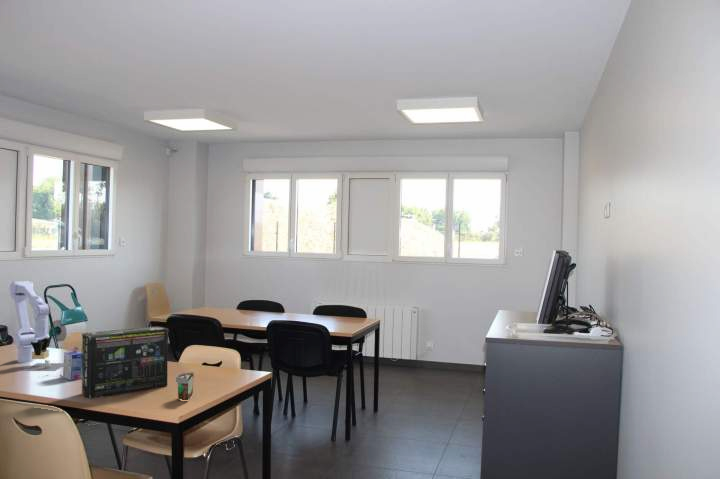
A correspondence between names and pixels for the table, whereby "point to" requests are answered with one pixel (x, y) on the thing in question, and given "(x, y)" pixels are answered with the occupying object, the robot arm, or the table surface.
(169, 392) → the table surface
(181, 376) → the food container
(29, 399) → the table surface
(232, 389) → the table surface
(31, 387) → the table surface
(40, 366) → the board
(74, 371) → the ink cartridge box
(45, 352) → the wooden collar
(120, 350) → the router box
